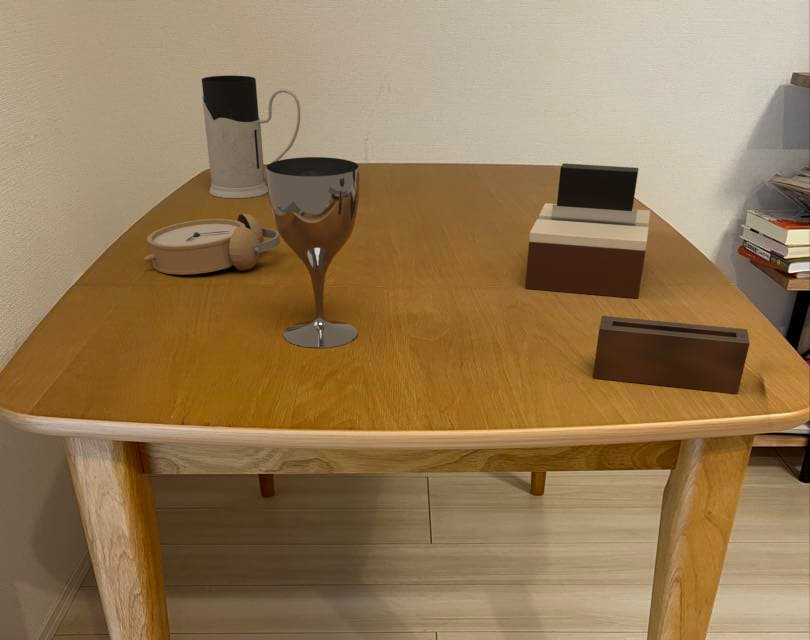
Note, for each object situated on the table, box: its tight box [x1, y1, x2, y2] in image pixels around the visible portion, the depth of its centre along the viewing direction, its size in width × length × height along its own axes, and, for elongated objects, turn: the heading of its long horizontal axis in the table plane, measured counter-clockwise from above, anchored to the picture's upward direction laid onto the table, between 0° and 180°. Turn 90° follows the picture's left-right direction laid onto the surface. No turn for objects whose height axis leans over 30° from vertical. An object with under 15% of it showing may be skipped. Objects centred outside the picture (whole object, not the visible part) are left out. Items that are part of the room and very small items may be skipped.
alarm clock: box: [143, 213, 281, 276], centre depth 101 cm, size 11×5×15 cm
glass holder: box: [201, 75, 301, 199], centre depth 127 cm, size 9×14×15 cm, turn 88°
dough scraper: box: [551, 162, 639, 226], centre depth 96 cm, size 9×2×12 cm, turn 75°
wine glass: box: [266, 156, 360, 349], centre depth 80 cm, size 8×8×15 cm
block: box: [592, 315, 751, 395], centre depth 75 cm, size 12×3×4 cm, turn 75°
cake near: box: [524, 218, 649, 300], centre depth 95 cm, size 12×6×6 cm, turn 75°
